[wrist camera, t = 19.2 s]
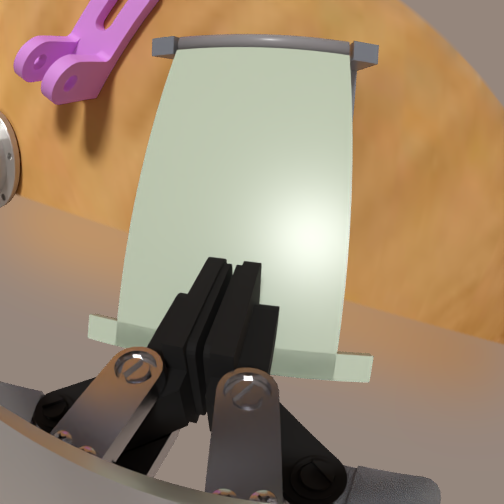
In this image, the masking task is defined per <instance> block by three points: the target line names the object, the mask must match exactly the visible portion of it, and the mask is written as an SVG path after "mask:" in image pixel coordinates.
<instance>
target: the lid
mask: <svg viewBox="0 0 504 504" xmlns="http://www.w3.org/2000/svg"><path fill="white" fill-rule="evenodd" d="M349 50H350V45H349V42H345V41H338V40H331V39H322V38H313V37H302V36H288V35H267V34H224V35H202V36H189V37H180V38H179V41H178V50H177V51H176V54H175V57H174V60H173V63H172V66H171V69H170V72H169V75H168V78H167V81H166V84H165V87H164V90H163V93H162V96H161V100H160V103H159V106H158V110H157V113H156V117H155V120H154V124H153V127H152V131H151V135H150V138H149V142H148V146H147V150H146V154H145V158H144V162H143V167H142V171H141V175H140V180H139V184H138V189H137V194H136V198H135V203H134V208H133V214H132V219H131V224H130V230H129V236H128V242H127V248H126V254H125V261H124V268H123V275H122V283H121V291H120V300H119V309H118V318H117V319H116V318H112V317H108V316H103V315H99V314H90V315H89V327H88V338H90V339H94V340H98V341H101V342H105V343H108V344H112V345H116V346H120V347H124V348H130V347H147V346H148V344H149V342H150V340H151V339H152V337H153V335H154V333H155V332H156V330H157V328H158V326H159V325H160V323H161V321H162V320H163V318H164V316H165V314H166V313H167V311H168V309H169V308H170V306H171V304H172V303H173V301H174V299H175V297H176V296H177V295H178V293H187V294H188V292H189V290H190V289H191V287H192V285H193V283H194V282H195V280H196V278H197V276H198V274H199V273H200V271H201V269H202V267H203V266H204V264H205V262H206V260H207V259H208V257H216V258H224V259H226V260H227V263H228V264H232V268H233V273H234V270H235V268H236V265H243V262H244V261H249V262H258V263H261V264H262V269H261V286H260V302H259V304H264V305H272V306H280V309H279V318H278V327H277V334H276V341H275V348H274V354H273V360H272V366H271V371H270V375H278V376H287V377H296V378H307V379H319V380H320V379H321V380H334V381H351V382H369V380H370V375H371V368H372V363H373V356H372V355H371V354H369V353H353V352H338V351H337V349H338V342H339V334H340V327H341V319H342V311H343V302H344V293H345V283H346V272H347V261H348V248H349V233H350V216H351V194H352V93H351V72H350V56H349Z"/></svg>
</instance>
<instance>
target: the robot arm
mask: <svg viewBox="0 0 504 504" xmlns="http://www.w3.org/2000/svg"><path fill="white" fill-rule="evenodd" d="M19 175H20V158H19V150H18V145H17V140H16V137H15V134H14V131H13V129H12V127H11V125H10V123H9V121H8V120H7V118H6V117H5V116H4V115H3V114H2V113H1V112H0V207H2V206H4V205H6V204H7V203H8V202H10V201H11V199H12V198H13V196H14V195H15V193H16V190H17V187H18V183H19ZM261 269H262V264H261V263H258V262H249V261H244V262H243V265H236V268H235V270H234V273H233V268H232V264H228V263H227V260H226V259H224V258H216V257H208V259H207V260H206V262H205V264H204V266H203V267H202V269H201V271H200V273H199V274H198V276H197V278H196V280H195V282H194V283H193V285H192V287H191V289H190V290H189V292H188V294H187V293H178V295H177V296H176V297H175V299H174V301H173V303H172V304H171V306H170V308H169V309H168V311H167V313H166V314H165V316H164V318H163V320H162V321H161V323H160V325H159V326H158V328H157V330H156V332H155V333H154V335H153V337H152V339H151V340H150V342H149V344H148V346H147V347H130V348H126V349H124V350H122V351H120V352H119V353H117V354H116V355H115V356H114V357H113V358H112V359H111V360H110V362H109V363H108V364H107V365H106V366H105V367H104V369H103V370H102V371H101V372H100V373H99V375H98V376H97V377H95V378H92V379H89V380H86V381H83V382H80V383H77V384H74V385H71V386H68V387H65V388H62V389H59V390H56V391H52V392H50V393H48V394H46V395H44V394H43V392H42V391H38V390H34V389H29V388H24V387H20V386H16V385H12V384H8V383H4V382H1V381H0V504H440V501H441V495H440V489H439V487H438V485H437V484H436V483H435V482H434V481H432V480H431V479H429V478H426V477H421V476H413V475H407V474H400V473H394V472H388V471H383V470H377V469H372V468H367V467H363V466H358V467H357V468H353V467H349V466H345V465H342V463H341V462H340V461H339V460H338V459H337V458H336V457H335V456H334V455H333V454H332V453H331V452H329V450H328V449H327V448H325V447H324V446H323V445H322V444H321V443H320V442H319V441H318V440H317V439H316V438H315V437H314V436H313V435H312V434H311V433H310V432H309V431H308V430H307V429H306V428H305V427H304V426H302V424H301V423H300V422H298V421H297V419H296V418H295V417H294V416H293V415H292V414H291V413H290V412H289V411H288V410H287V409H286V408H285V407H284V406H283V405H282V404H281V403H280V402H279V389H278V385H277V383H276V382H275V380H274V379H273V377H271V376H270V371H271V366H272V360H273V354H274V348H275V341H276V334H277V327H278V318H279V309H280V306H272V305H264V304H259V302H260V286H261ZM206 412H207V414H208V421H209V428H210V431H211V439H210V448H209V457H208V466H207V475H206V484H205V492H203V491H199V490H194V489H191V488H187V487H183V486H179V485H175V484H172V483H169V482H165V481H162V480H158V479H155V478H154V476H155V474H156V473H157V471H158V469H159V468H160V466H161V464H162V463H163V461H164V459H165V457H166V456H167V454H168V452H169V451H170V449H171V447H172V445H173V444H174V442H175V440H176V438H177V437H178V434H179V431H180V429H181V428H183V427H185V426H188V423H189V422H193V423H197V421H198V418H199V415H205V414H206Z"/></svg>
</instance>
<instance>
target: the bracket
mask: <svg viewBox="0 0 504 504" xmlns="http://www.w3.org/2000/svg"><path fill="white" fill-rule="evenodd" d="M117 1H118V0H91V1H90V2H89V4H88V5H87V7H86V9H85V10H84V12H83V13H82V15H81V17H80V18H79V20H78V22H77V24H76V25H75V27H74V29H73V31H72V32H71V34H70V35H68V36H66V37H64V36H36V37H34V38H32V39H30V40H29V41H27V42H26V43H25V44H24V45H23V46H22V47H21V49H20V50H19V52H18V53H17V55H16V58H15V61H14V71H15V73H16V74H17V75H19V76H20V77H21V78H23V79H24V80H25V81H27V82H35V81H42V84H41V91H42V94H43V95H44V96H46V97H47V98H48V99H49V100H51V101H52V102H53V103H54V104H57V105H61V104H66V103H71V102H76V101H81V100H87V99H93V98H97V96H98V94H99V92H100V90H101V88H102V87H103V85H104V83H105V81H106V79H107V78H108V76H109V74H110V72H111V71H112V69H113V67H114V66H115V64H116V62H117V61H118V59H119V57H120V56H121V54H122V53H123V51H124V49H125V48H126V46H127V45H128V43H129V42H130V40H131V39H132V37H133V36H134V34H135V33H136V31H137V30H138V28H139V27H140V25H141V24H142V23H143V21H144V20H145V18H146V17H147V16H148V14H149V13H150V12H151V10H152V9H153V7H154V6H155V5H156V4H157V2H158V1H159V0H128V1H127V3H126V4H125V5H124V7H123V8H122V10H121V11H120V13H119V14H118V16H117V17H116V19H115V20H114V22H113V23H112V25H111V26H110V27H109V28H108V29H106V30H105V29H104V20H105V19H106V17H107V15H108V14H109V12H110V11H111V9H112V8H113V6H114V5H115V4H116V2H117Z"/></svg>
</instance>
